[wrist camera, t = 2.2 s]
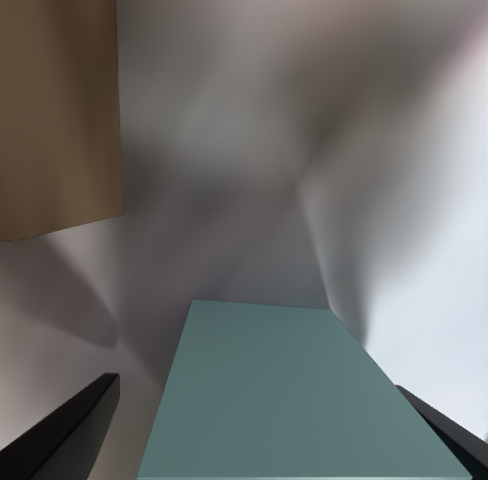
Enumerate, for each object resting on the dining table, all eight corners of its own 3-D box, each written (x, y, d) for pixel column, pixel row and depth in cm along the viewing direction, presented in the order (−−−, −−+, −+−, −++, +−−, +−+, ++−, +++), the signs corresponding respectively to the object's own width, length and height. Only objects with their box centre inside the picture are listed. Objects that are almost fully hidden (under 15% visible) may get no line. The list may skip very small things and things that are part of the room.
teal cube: (305, 416, 9) (389, 660, 5) (183, 413, 9) (131, 682, 4) (329, 308, 8) (472, 476, 3) (192, 298, 8) (137, 476, 3)
